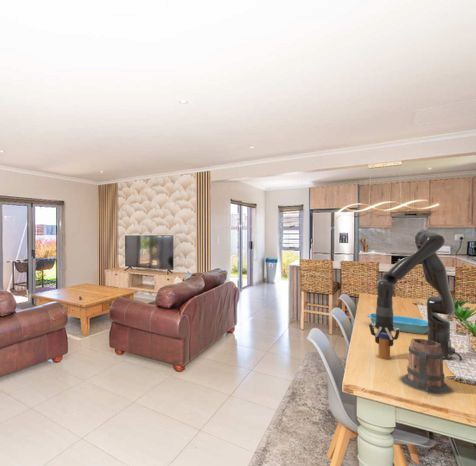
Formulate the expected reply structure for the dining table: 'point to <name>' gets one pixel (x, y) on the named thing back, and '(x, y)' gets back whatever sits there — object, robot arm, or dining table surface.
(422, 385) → the tankard
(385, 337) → the lid
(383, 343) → the jar
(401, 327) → the casserole dish
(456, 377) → the dining table surface
